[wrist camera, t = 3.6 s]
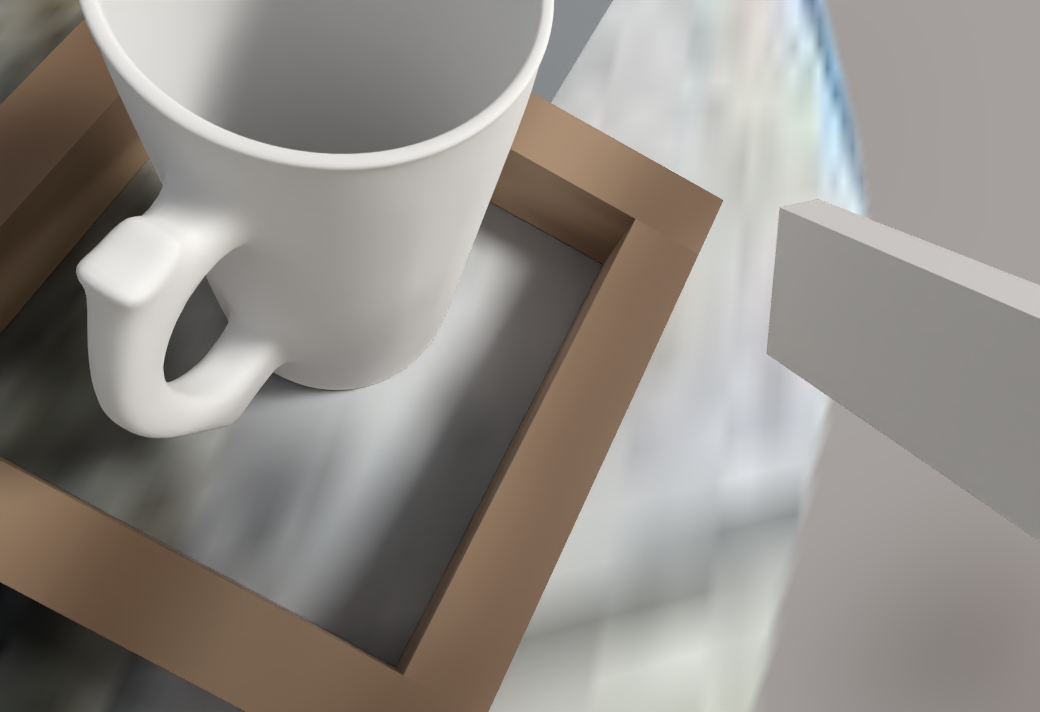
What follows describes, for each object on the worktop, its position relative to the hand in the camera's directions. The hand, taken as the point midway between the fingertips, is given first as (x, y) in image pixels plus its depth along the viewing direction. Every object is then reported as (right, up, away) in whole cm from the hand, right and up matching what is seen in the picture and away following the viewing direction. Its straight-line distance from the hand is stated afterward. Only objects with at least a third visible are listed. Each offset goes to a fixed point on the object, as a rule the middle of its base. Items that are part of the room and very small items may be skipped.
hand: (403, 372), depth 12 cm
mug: (-4, +1, +10) cm, 11 cm away
